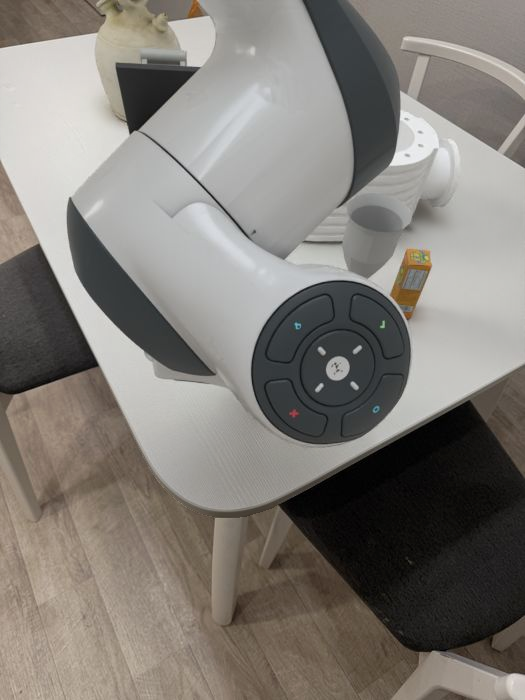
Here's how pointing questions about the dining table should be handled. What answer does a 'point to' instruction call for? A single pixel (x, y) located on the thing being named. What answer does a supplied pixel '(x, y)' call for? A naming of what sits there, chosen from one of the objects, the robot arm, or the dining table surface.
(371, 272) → the chalice
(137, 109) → the chamber lid
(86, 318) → the dining table surface
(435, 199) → the housing
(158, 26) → the jug
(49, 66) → the dining table surface
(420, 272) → the supplement box
